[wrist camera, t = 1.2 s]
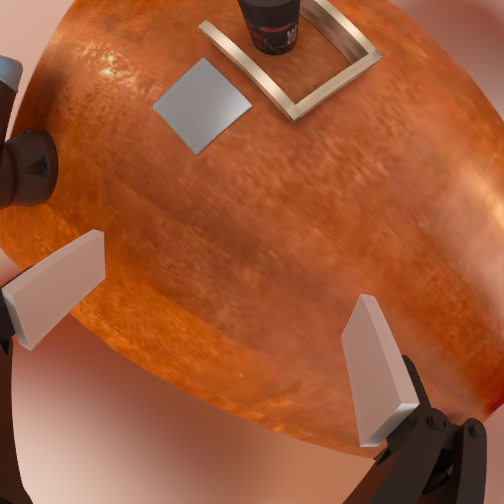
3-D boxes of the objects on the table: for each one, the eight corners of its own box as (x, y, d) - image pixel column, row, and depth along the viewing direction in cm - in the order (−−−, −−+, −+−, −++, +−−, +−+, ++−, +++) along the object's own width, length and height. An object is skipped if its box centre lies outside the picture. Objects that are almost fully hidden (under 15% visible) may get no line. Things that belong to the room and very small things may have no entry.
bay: (212, 43, 30) (198, 26, 23) (286, -7, 25) (285, -31, 19) (292, 124, 33) (294, 120, 27) (366, 70, 29) (383, 57, 22)
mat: (153, 107, 34) (152, 106, 33) (204, 58, 31) (203, 57, 30) (197, 154, 36) (196, 155, 36) (252, 106, 33) (252, 105, 32)
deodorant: (261, 15, 27) (246, -43, 13) (303, 28, 27) (310, -28, 14) (245, 48, 30) (221, -1, 16) (287, 61, 30) (288, 14, 16)
